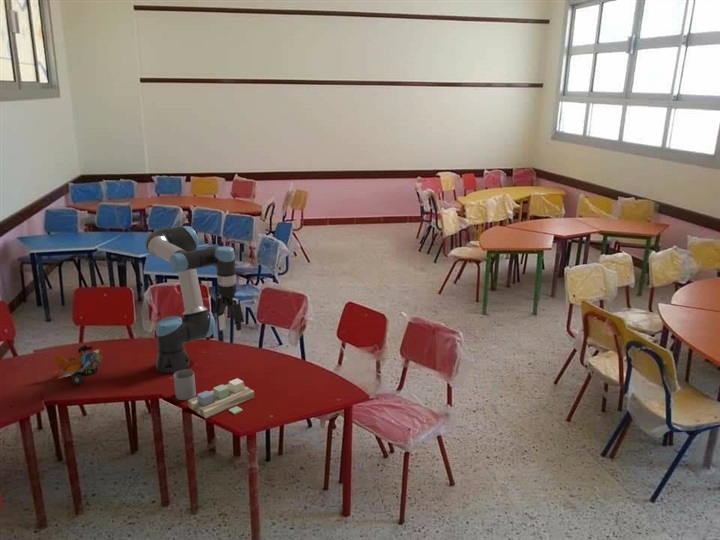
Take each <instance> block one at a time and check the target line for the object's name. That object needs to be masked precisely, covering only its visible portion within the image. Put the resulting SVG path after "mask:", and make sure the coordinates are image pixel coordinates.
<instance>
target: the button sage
mask: <svg viewBox="0 0 720 540" xmlns="http://www.w3.org/2000/svg"><path fill="white" fill-rule="evenodd" d="M225 385H226V384H224V383H223V384H219V385H217V386H214V387H213V388H212V389H213V392H214V397H215V398H216V399H218V400H222V399H224V398H226V397H229V388H228V387H226V386H225Z"/></svg>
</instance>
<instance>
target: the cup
mask: <svg viewBox="0 0 720 540" xmlns="http://www.w3.org/2000/svg"><path fill="white" fill-rule="evenodd" d="M173 384H174V392H175V399H177V400H178V401H188V400H190V399H193V398H195V397H196V396H197V392H196V391H197V390H196V388H197V387H196V381H195V372H194V371H193V370H191V369H184V370H180V371H177V372H175V373H174V374H173Z"/></svg>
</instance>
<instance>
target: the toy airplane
mask: <svg viewBox="0 0 720 540" xmlns="http://www.w3.org/2000/svg"><path fill="white" fill-rule="evenodd" d="M101 352H102V348H97V349H95V350H93V345H92V346H87V344H86V345H82V346H80V347H79V348H78V349H77V353H76V354H75V357H73V356H70V357H68V360H67V359H65V358H64V357H63V356H62V355H60V354H59V353H57V354H53V358H54V360H55V362H56V364H57V366H58V369H57V370H55V371H54V374H56V373H59V372H61V373H62V374H63V375H62V376H59V377H57V380H59V379H63V378H69V377H71V382H72V383H73V384H74V385H76V384H80V385H82V384H83V382H84V377H85V375H91V374H92V373H97V372H98V371H99V369H100V368H99V366H100V364H101V362H102V361H103V359H104V358H103V355H101ZM68 376H69V377H68ZM81 383H82V384H81Z"/></svg>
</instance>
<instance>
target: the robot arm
mask: <svg viewBox="0 0 720 540" xmlns="http://www.w3.org/2000/svg"><path fill="white" fill-rule="evenodd" d="M199 243H200V240H199V237H198V234H197V232H196V230H194V228H193V227H192V226H188V225H183V226H177V227H168V228H164V229H163V228H162V229H157V230H155V231H153V232H151V233H150V234H149V235H148V236H147V238H146V240H145V249H146V251H147V253H149V254H150V255H152V256H153V257H155V258H161V259H163V260H165V261H167V262H168V263H169V266H170V268H171V270H172V271H173V272H175V273H177V275H178V281H179V285H180V291H181V296H182V301H183V307H184V311H183V312H182V317H181V316H179V315H169V316H166V317H164V318H161V319H159V321H157V323H156V325H155V336H156V342H157V343H156V344H157V351H158V352H157V353H158V354H157V357H156V361H155V370H157V372H159V373H164V374H173V373H175V372H177V371H180V370H187V368H189V367H190V358H189V356H188V354H187V352H186V349H185V344H186V343H190V342H193V341H197V340H201V339H203V340H204V339H206V338H209V337H211V336H212V335H213V334H214V331H215V325H216V324H215V323H216V322H215V317H214V315H213V313H212V312H211V311H209V310H208V307H206V306H204V303H203V297H202V292H201V287H200V282H199V277H198V272H197V269H201V268H208V267H216V275H217V278H216V280H217V292H216V294H215V295H216V296H215V297H216V298H215V305H214V313H215V314H216V315H217V316H218V317H217V318H218V328H219V331H222V330H226V329H227V328H226V326H227V325H226V315H225V310H226V308H228V309H229V310H230V313H231V315H232V318H233V320H234V323H233V326H234V327H233V328H234V329H233V330H234V331H233V332H234V339H239V338H241V337H242V323H244V322H245V319H244V314H243V311H242V310H243V309H242V306H241V300H240V298H236V296H235V295H236V294H237V292H238V290H237V289H238V287H237V284H236V283H237V274H236V255H235V249H234V248H233V247H232V246H227V245H226V246H225V245H224V246H215V245H207V246H205V247H204V248H202V249H199V247H200V244H199Z"/></svg>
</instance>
